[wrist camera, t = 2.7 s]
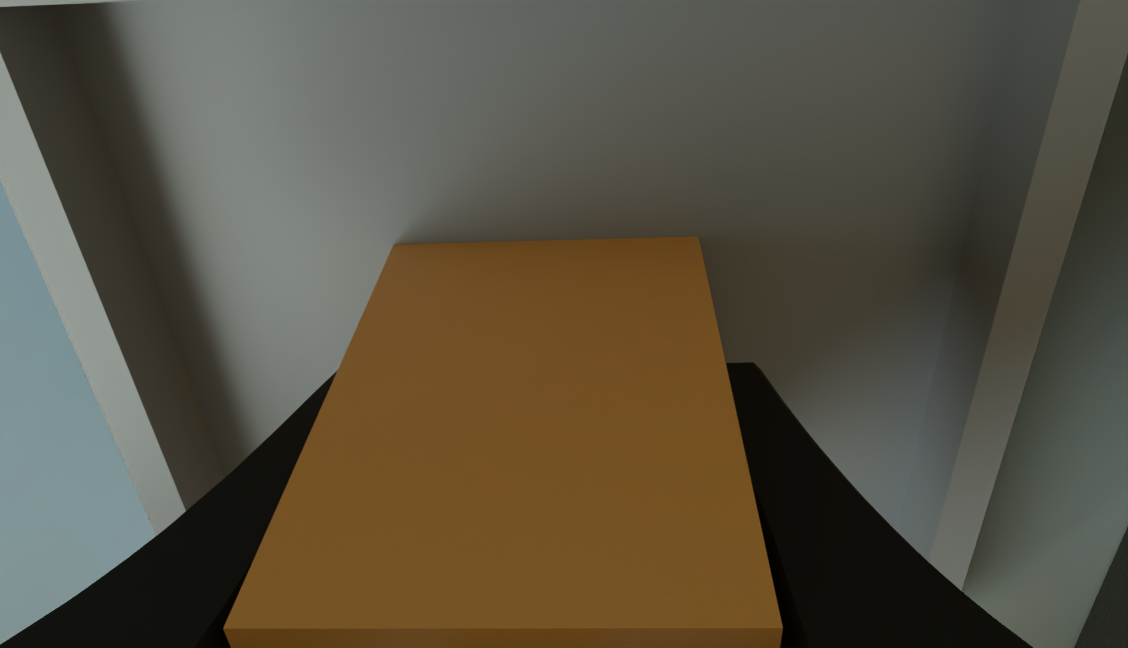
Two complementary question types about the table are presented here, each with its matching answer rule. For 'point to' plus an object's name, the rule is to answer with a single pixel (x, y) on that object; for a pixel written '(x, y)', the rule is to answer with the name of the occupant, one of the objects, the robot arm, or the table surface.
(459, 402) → the plug
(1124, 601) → the open box
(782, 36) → the tray
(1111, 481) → the table surface
